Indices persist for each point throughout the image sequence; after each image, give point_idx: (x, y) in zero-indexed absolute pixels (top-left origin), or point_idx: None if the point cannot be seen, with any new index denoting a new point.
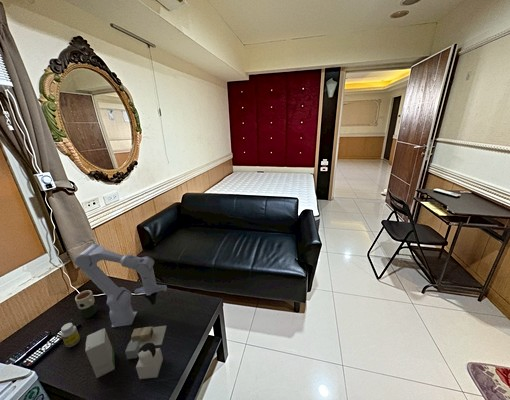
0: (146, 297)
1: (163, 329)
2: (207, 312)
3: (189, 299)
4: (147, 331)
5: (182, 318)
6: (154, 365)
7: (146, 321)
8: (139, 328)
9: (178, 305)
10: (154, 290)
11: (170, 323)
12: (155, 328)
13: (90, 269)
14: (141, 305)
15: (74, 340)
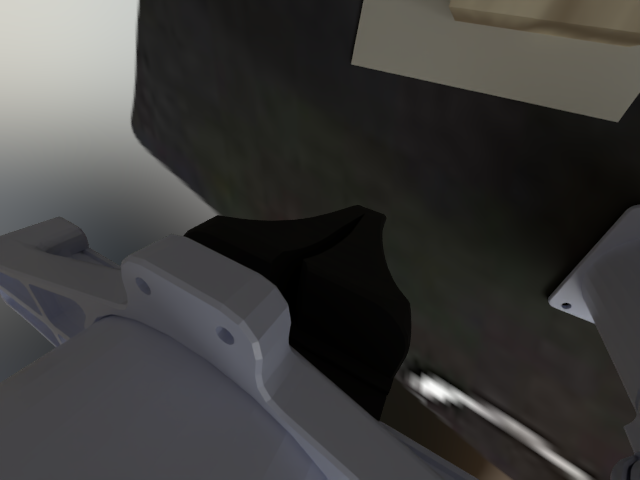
0: (378, 286)
1: (374, 26)
2: (154, 81)
3: (243, 218)
4: None
5: (263, 92)
6: None
7: (493, 177)
8: (601, 18)
9: (290, 207)
10: (91, 317)
11: (329, 78)
12: (433, 63)
13: None
14: (502, 333)
15: None
